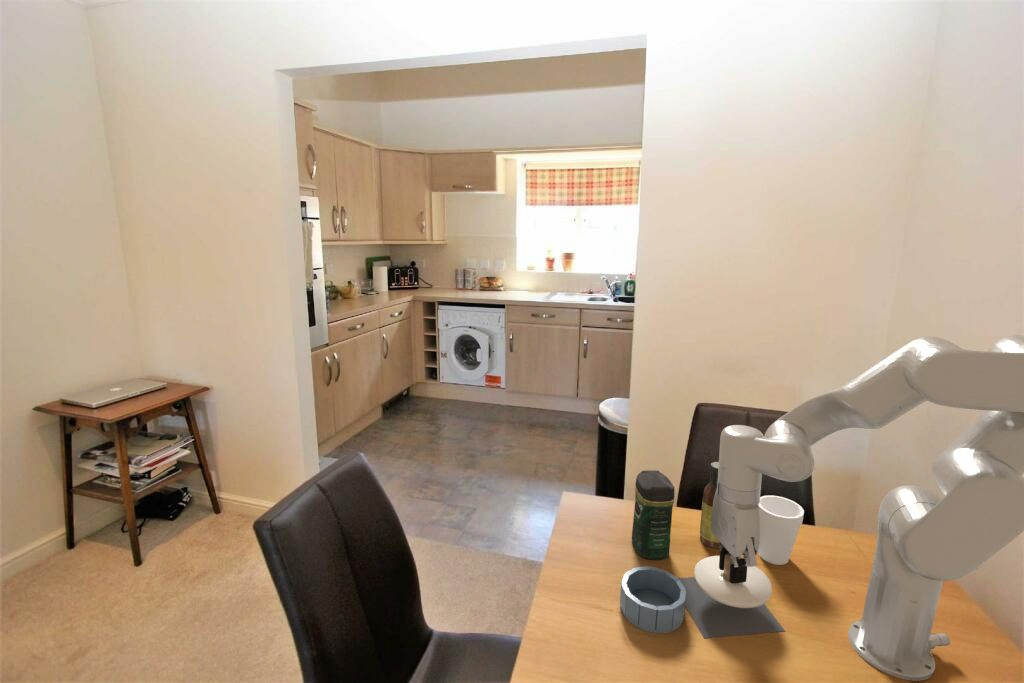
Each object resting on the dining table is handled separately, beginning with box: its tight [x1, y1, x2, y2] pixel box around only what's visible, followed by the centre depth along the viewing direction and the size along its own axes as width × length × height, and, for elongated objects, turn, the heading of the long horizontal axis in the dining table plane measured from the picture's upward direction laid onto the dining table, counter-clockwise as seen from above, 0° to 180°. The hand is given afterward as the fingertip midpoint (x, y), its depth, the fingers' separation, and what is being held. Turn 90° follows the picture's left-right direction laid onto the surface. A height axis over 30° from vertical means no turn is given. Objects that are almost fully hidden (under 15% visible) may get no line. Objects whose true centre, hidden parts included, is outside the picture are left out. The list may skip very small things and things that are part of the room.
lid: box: [693, 553, 772, 608], centre depth 101 cm, size 14×14×6 cm
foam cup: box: [757, 495, 805, 566], centre depth 116 cm, size 10×9×13 cm
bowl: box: [619, 565, 686, 634], centre depth 101 cm, size 12×12×6 cm
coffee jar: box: [631, 469, 675, 561], centre depth 118 cm, size 10×8×19 cm
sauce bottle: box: [699, 461, 719, 549], centre depth 121 cm, size 6×6×20 cm
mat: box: [677, 576, 786, 639], centre depth 103 cm, size 16×16×1 cm
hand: (732, 574), depth 101 cm, fingers closed on lid, 3 cm apart
